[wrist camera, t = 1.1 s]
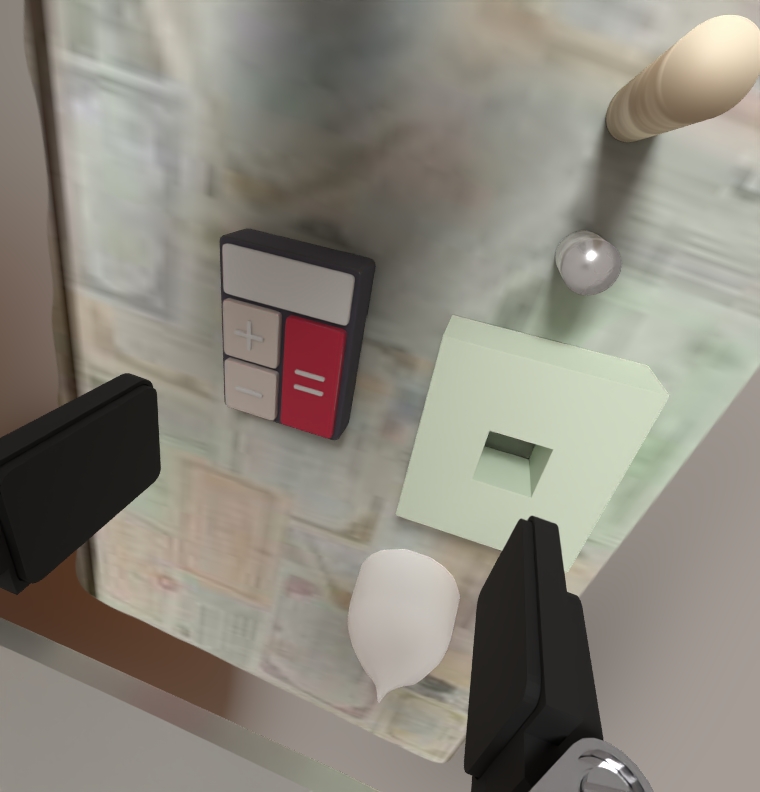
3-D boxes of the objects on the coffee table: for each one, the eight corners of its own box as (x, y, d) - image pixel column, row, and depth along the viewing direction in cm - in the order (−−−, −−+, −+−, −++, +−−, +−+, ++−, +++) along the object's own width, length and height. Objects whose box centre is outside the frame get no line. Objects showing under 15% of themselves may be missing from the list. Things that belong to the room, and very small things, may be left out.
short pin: (565, 225, 28) (574, 234, 24) (613, 236, 28) (631, 246, 23) (548, 272, 30) (554, 288, 25) (593, 282, 29) (607, 300, 25)
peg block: (452, 314, 33) (443, 335, 28) (647, 365, 30) (669, 395, 26) (408, 479, 40) (395, 515, 36) (561, 528, 38) (567, 572, 34)
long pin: (619, 75, 24) (688, 8, 15) (676, 84, 24) (785, 21, 14) (597, 137, 26) (646, 112, 16) (650, 146, 25) (733, 127, 16)
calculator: (219, 410, 38) (212, 235, 31) (245, 388, 42) (244, 226, 34) (335, 447, 37) (359, 272, 29) (351, 421, 40) (377, 259, 32)
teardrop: (363, 613, 50) (325, 725, 40) (353, 541, 46) (307, 647, 35) (460, 631, 47) (445, 758, 37) (460, 556, 43) (443, 676, 32)
